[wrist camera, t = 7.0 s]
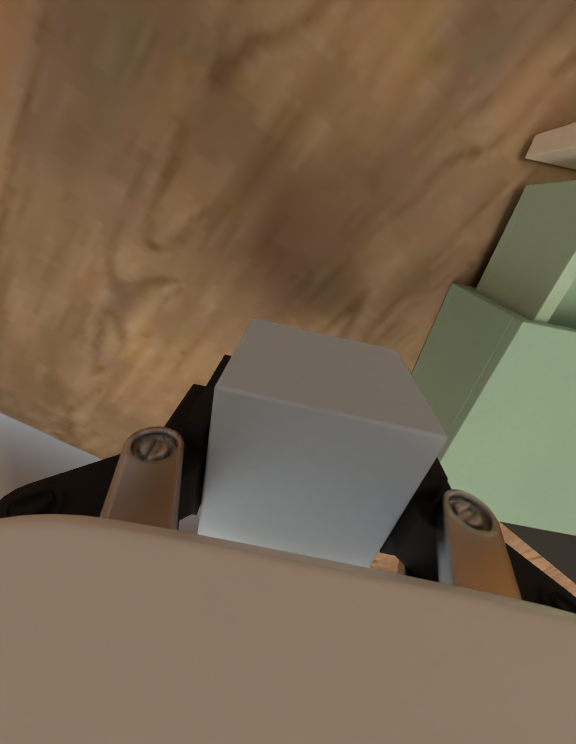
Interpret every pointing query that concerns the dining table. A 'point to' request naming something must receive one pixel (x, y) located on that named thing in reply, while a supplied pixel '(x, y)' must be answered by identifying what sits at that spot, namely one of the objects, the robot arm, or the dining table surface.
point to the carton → (314, 444)
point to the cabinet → (504, 408)
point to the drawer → (540, 242)
